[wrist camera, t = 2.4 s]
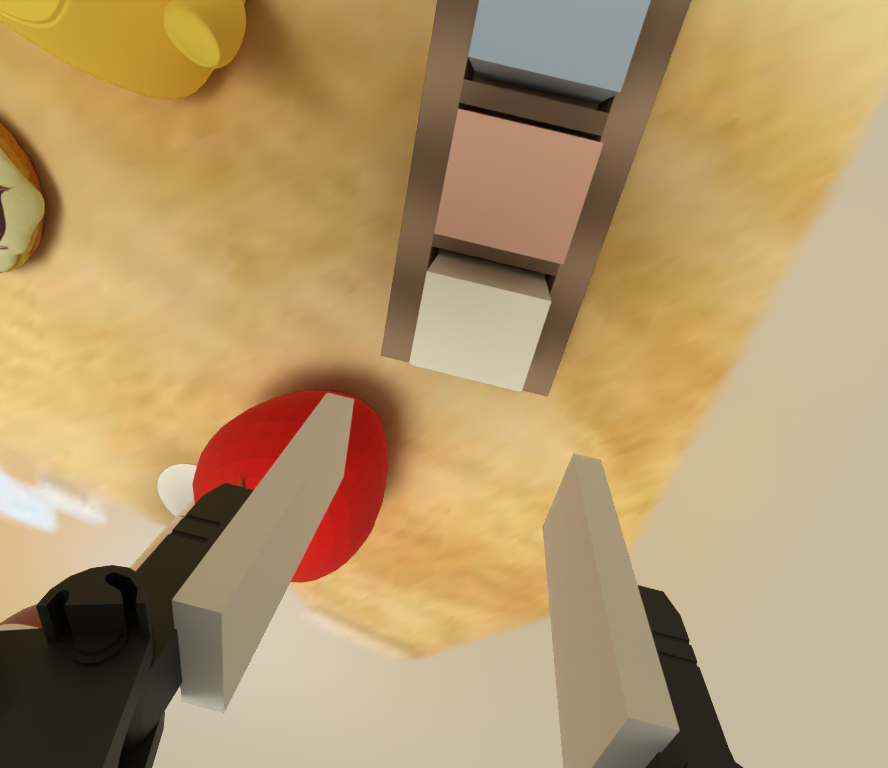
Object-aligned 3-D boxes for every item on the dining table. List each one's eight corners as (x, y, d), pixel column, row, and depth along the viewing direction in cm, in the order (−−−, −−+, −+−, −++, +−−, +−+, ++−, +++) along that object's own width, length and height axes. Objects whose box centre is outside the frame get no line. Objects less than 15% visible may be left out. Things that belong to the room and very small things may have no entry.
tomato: (444, 440, 35) (418, 556, 25) (334, 525, 41) (276, 649, 31) (320, 325, 32) (234, 406, 22) (219, 434, 38) (113, 538, 28)
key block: (470, -84, 22) (460, -143, 18) (678, -36, 22) (721, -83, 17) (398, 326, 32) (380, 355, 27) (542, 361, 32) (547, 396, 27)
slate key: (503, -59, 20) (501, -119, 15) (638, -28, 20) (676, -79, 15) (476, 75, 22) (468, 56, 17) (597, 103, 22) (620, 92, 17)
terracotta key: (468, 116, 23) (458, 108, 18) (585, 144, 23) (603, 142, 18) (447, 218, 25) (434, 233, 20) (554, 243, 25) (563, 264, 20)
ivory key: (441, 249, 26) (427, 271, 21) (544, 274, 26) (551, 301, 21) (424, 329, 28) (408, 364, 23) (519, 353, 28) (521, 392, 23)
